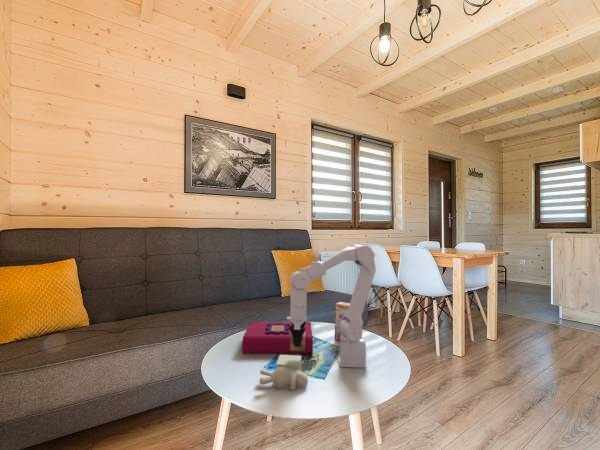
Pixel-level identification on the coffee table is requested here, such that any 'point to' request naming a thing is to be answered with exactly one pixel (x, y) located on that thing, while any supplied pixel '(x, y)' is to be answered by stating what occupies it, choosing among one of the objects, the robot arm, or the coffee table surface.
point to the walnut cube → (301, 348)
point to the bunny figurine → (284, 378)
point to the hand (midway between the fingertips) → (297, 343)
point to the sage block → (289, 362)
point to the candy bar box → (340, 317)
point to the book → (273, 338)
